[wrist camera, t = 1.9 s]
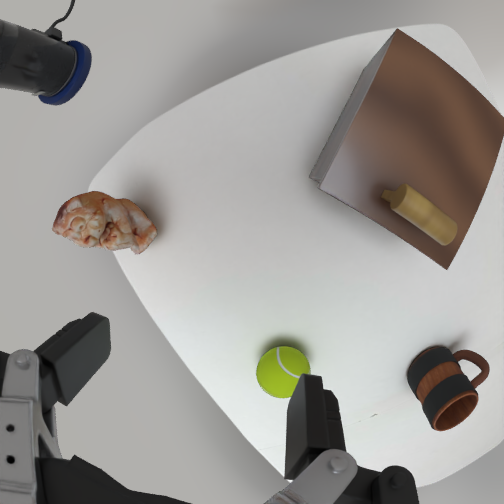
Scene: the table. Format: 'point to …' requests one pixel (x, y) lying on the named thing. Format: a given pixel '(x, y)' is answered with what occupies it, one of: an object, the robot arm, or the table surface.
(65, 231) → the figurine
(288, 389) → the tennis ball
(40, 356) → the robot arm
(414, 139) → the lid
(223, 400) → the table surface
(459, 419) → the mug
